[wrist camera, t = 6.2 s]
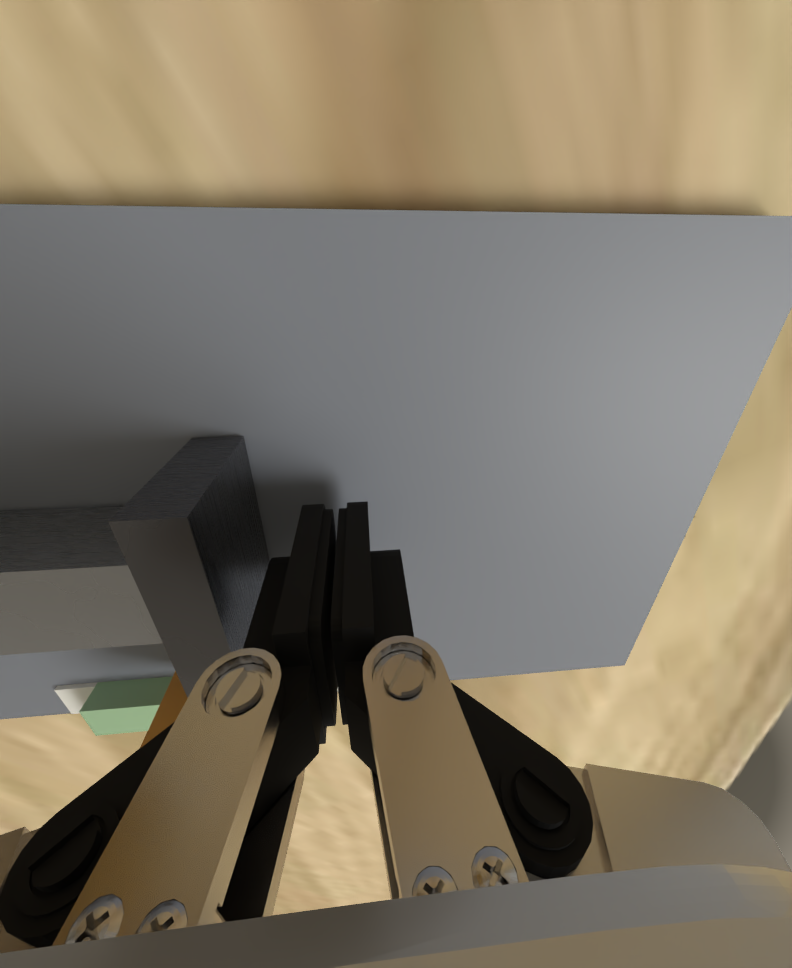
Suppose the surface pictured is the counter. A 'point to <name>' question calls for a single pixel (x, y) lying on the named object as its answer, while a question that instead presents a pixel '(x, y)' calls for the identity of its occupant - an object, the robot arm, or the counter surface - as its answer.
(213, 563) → the plunger
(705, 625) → the counter surface
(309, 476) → the board
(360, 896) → the counter surface
